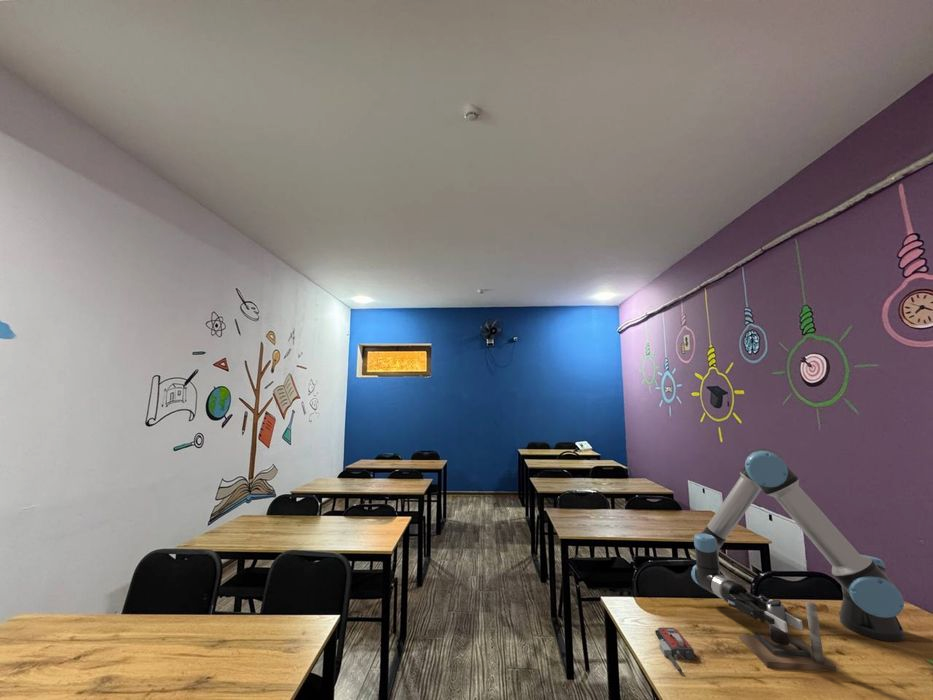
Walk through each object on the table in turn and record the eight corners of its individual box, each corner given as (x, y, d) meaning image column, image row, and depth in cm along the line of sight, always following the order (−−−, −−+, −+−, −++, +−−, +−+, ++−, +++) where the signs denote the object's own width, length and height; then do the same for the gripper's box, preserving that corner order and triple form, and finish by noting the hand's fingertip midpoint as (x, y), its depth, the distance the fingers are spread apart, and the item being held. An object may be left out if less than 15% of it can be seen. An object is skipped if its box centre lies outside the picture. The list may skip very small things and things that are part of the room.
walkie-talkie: (649, 635, 127) (676, 676, 107) (647, 620, 128) (675, 658, 108) (676, 636, 127) (709, 677, 107) (675, 621, 127) (708, 659, 108)
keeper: (803, 642, 122) (796, 586, 124) (840, 672, 108) (831, 607, 111) (739, 639, 124) (733, 583, 127) (767, 667, 110) (759, 604, 113)
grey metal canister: (779, 635, 121) (774, 595, 122) (793, 644, 116) (788, 602, 118) (766, 637, 120) (761, 596, 122) (780, 645, 115) (774, 603, 117)
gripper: (753, 600, 137) (821, 638, 114) (708, 604, 135) (769, 643, 112) (750, 578, 138) (817, 610, 116) (706, 581, 136) (765, 615, 113)
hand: (793, 626), depth 114 cm, fingers closed on grey metal canister, 4 cm apart
